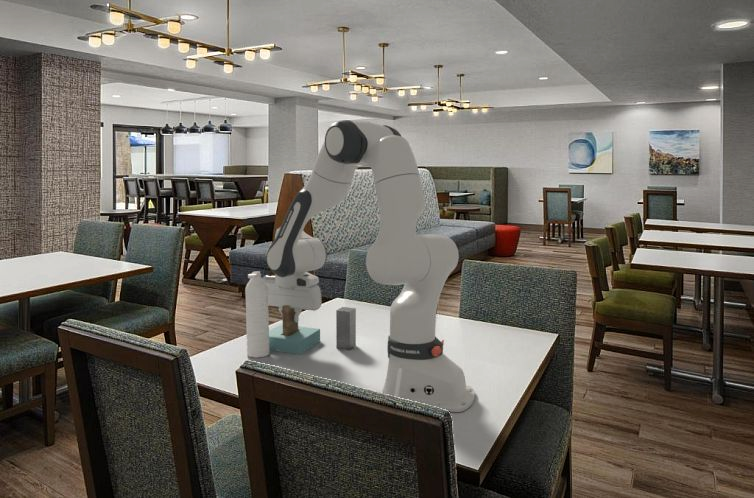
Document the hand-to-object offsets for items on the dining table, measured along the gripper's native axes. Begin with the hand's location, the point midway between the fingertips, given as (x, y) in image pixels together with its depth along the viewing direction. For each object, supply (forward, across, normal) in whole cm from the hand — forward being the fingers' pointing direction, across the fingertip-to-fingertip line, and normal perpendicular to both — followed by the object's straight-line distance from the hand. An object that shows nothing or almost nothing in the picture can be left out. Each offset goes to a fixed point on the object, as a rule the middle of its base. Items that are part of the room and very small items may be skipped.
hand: (290, 321), depth 167 cm
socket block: (+8, 0, 0) cm, 8 cm away
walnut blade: (+7, 0, 0) cm, 7 cm away
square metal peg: (+8, +17, +4) cm, 19 cm away
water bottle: (+8, -4, -12) cm, 15 cm away
